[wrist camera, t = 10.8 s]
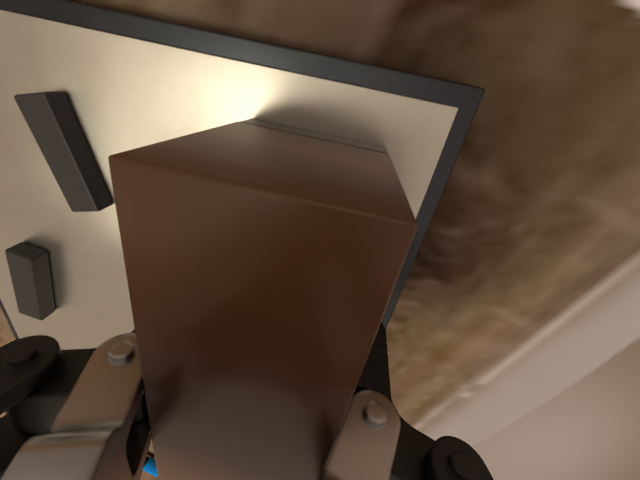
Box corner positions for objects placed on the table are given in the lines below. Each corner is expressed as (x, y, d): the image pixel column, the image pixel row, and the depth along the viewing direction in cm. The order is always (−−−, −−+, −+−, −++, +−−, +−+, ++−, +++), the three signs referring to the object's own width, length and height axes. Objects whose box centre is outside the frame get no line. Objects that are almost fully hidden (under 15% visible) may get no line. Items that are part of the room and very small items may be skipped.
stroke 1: (22, 240, 13) (3, 249, 12) (48, 250, 13) (31, 259, 13) (33, 302, 15) (17, 313, 14) (56, 310, 15) (42, 321, 15)
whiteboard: (-125, -40, 10) (-184, -54, 9) (475, 87, 9) (489, 89, 8) (36, 336, 19) (16, 352, 18) (345, 412, 18) (344, 432, 17)
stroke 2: (35, 93, 10) (10, 94, 9) (66, 90, 10) (43, 91, 9) (88, 205, 12) (71, 212, 11) (114, 204, 12) (99, 212, 11)
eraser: (250, 117, 9) (105, 154, 4) (387, 146, 9) (419, 224, 4) (233, 366, 15) (163, 518, 10) (318, 387, 15) (293, 552, 10)
